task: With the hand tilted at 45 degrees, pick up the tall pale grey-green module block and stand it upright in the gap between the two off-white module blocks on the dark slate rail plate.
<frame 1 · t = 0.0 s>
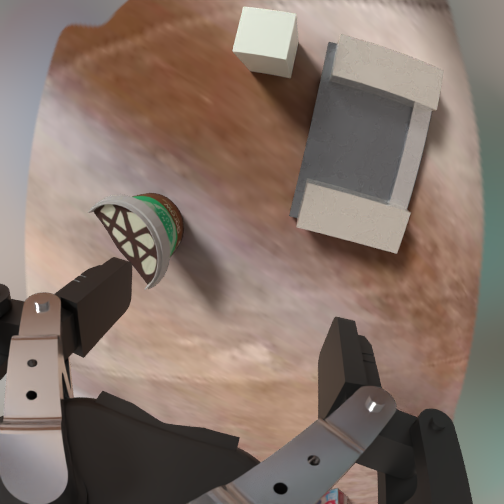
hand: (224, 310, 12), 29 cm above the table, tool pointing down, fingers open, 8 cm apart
juice carton: (330, 494, 63), on the table
rail plate: (365, 142, 35), on the table
food container: (167, 214, 43), on the table
module block: (274, 56, 33), on the table
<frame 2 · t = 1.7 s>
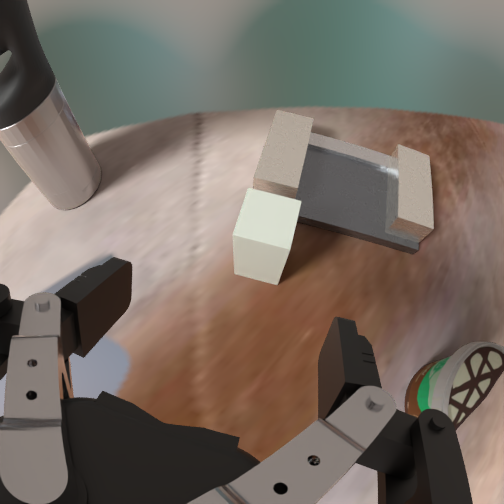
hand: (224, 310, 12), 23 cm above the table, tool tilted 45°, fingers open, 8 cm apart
rail plate: (342, 187, 42), on the table
food container: (424, 382, 32), on the table
module block: (261, 259, 37), on the table
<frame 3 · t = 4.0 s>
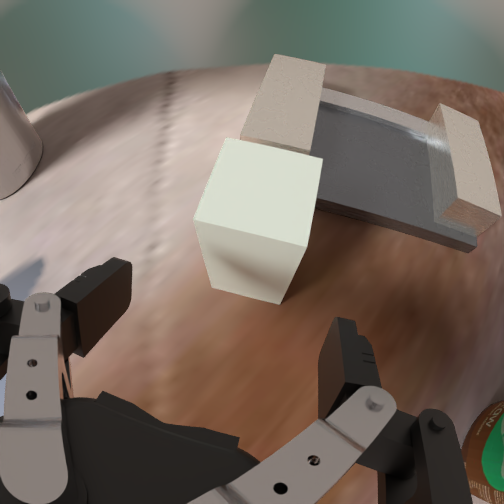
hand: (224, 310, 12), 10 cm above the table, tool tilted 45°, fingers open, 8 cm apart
rail plate: (369, 160, 28), on the table
food container: (483, 430, 18), on the table
module block: (254, 264, 24), on the table
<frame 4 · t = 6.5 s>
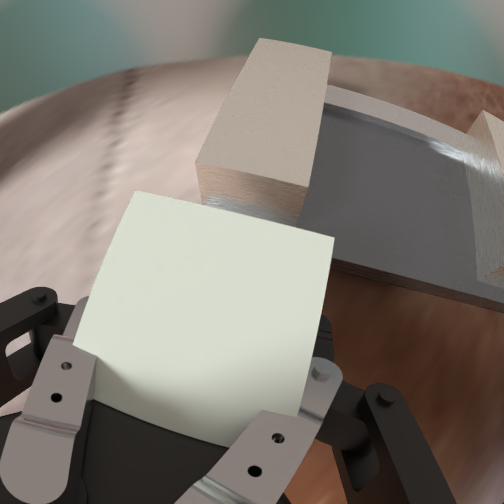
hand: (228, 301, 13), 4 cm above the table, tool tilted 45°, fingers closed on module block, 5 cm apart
rail plate: (391, 187, 20), on the table
module block: (222, 355, 16), on the table, touching gripper
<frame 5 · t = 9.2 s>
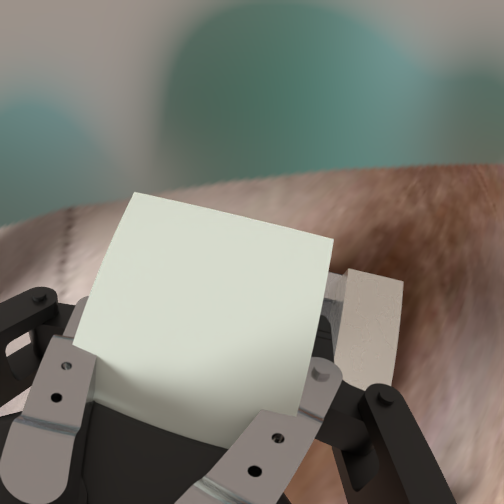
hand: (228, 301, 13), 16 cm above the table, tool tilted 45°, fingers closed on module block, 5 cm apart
rail plate: (254, 336, 28), on the table
module block: (222, 356, 16), point 12 cm above the table, touching gripper
when the fingers open (7 cm above the table, at t = 12.3 s): module block stays where it is, resting on rail plate.
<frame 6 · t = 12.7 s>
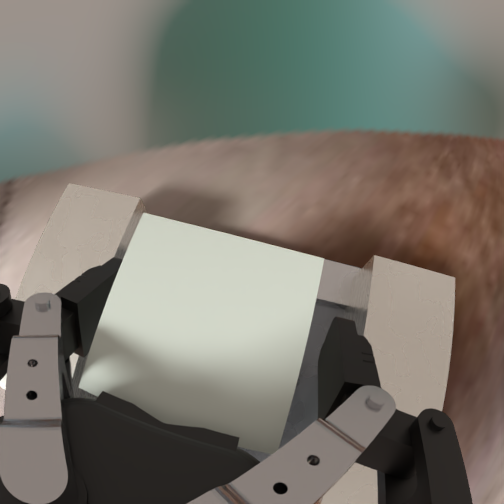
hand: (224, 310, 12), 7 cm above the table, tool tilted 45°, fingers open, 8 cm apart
rail plate: (224, 358, 18), on the table
module block: (223, 358, 17), point 1 cm above the table, touching rail plate
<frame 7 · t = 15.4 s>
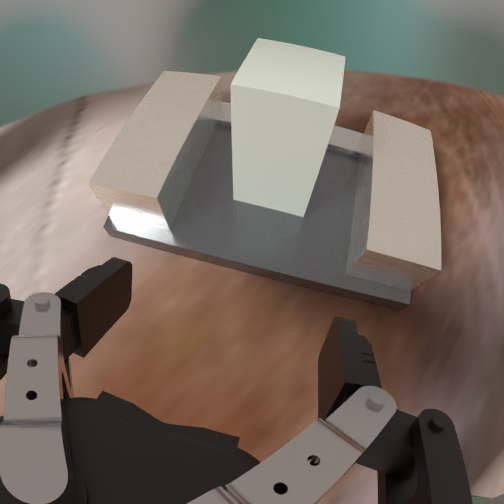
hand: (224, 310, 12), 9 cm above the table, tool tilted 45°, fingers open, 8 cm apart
rail plate: (274, 190, 25), on the table
module block: (276, 180, 23), point 1 cm above the table, touching rail plate
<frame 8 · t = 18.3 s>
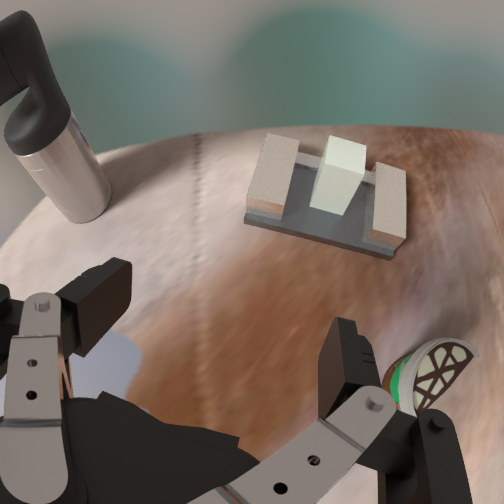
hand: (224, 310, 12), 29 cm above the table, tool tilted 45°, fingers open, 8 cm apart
rail plate: (326, 201, 48), on the table
food container: (399, 373, 38), on the table
module block: (328, 197, 46), point 1 cm above the table, touching rail plate
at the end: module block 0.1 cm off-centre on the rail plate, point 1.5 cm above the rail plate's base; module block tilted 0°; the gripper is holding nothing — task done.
